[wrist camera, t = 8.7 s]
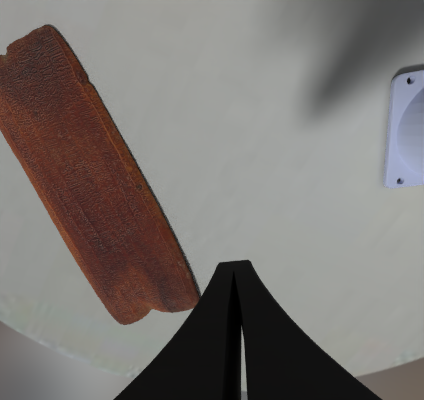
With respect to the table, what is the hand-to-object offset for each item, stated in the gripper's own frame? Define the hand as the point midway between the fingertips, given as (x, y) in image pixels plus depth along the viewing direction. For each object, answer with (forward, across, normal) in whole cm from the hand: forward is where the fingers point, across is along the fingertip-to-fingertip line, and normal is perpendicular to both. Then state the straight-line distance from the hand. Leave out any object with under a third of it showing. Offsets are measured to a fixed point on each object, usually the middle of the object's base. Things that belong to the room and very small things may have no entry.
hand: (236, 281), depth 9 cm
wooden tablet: (+11, +12, -2) cm, 16 cm away
